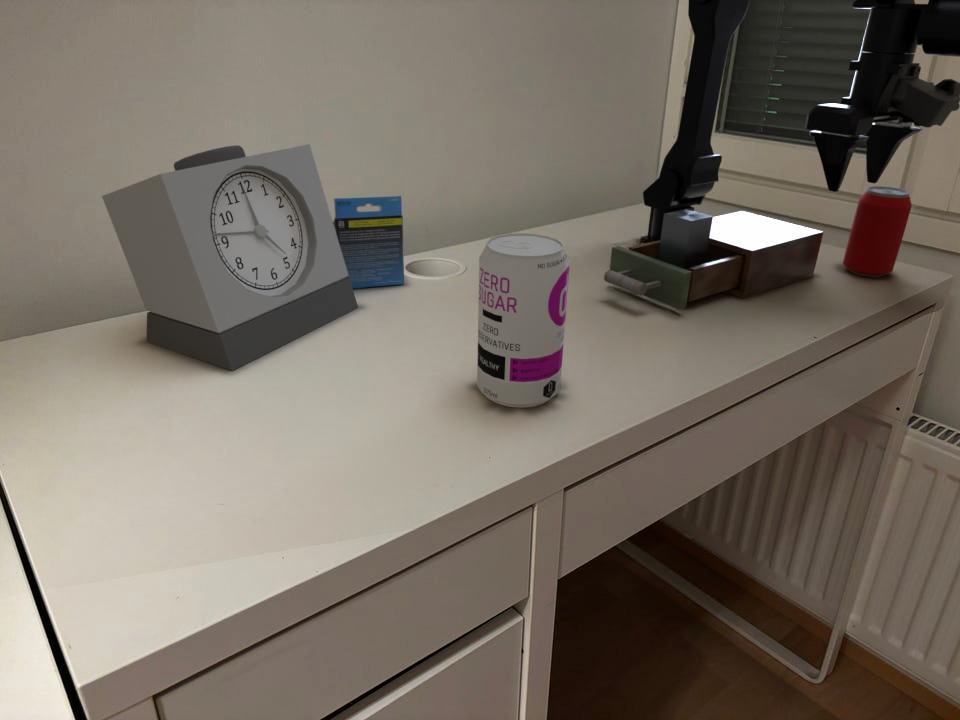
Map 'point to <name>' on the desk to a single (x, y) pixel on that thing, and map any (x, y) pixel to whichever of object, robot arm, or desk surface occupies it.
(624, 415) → the desk surface
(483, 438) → the desk surface
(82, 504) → the desk surface
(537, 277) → the supplement can
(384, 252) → the label tape box
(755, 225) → the cabinet
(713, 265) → the rack drawer
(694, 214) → the steel block
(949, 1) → the robot arm
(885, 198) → the beverage can
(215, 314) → the alarm clock
